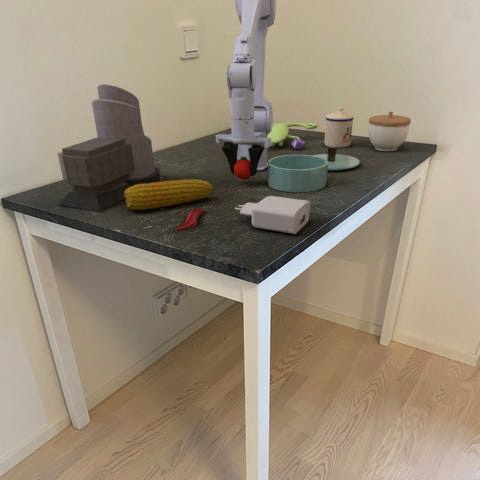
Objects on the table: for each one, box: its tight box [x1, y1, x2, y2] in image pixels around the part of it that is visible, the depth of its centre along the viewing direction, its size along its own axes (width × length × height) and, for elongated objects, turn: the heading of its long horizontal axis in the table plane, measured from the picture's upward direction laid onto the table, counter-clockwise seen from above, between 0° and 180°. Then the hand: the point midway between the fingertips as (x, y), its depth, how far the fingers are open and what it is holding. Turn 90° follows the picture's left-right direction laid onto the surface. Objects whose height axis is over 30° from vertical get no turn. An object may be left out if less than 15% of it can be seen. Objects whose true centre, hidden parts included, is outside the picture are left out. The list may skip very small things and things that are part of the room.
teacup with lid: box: [324, 106, 355, 149], centre depth 158 cm, size 12×9×12 cm
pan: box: [267, 154, 329, 193], centre depth 124 cm, size 15×15×6 cm
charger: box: [234, 195, 311, 235], centre depth 100 cm, size 5×9×15 cm
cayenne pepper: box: [174, 207, 205, 231], centre depth 103 cm, size 12×5×2 cm, turn 149°
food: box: [124, 178, 214, 211], centre depth 111 cm, size 21×6×6 cm, turn 118°
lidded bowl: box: [368, 111, 412, 152], centre depth 152 cm, size 13×13×11 cm
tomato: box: [234, 157, 252, 181], centre depth 124 cm, size 5×5×6 cm
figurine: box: [267, 122, 319, 150], centre depth 163 cm, size 18×27×6 cm
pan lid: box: [312, 146, 361, 172], centre depth 139 cm, size 16×16×5 cm
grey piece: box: [57, 83, 166, 212], centre depth 117 cm, size 30×16×24 cm, turn 156°
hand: (243, 173), depth 125 cm, fingers closed on tomato, 5 cm apart
